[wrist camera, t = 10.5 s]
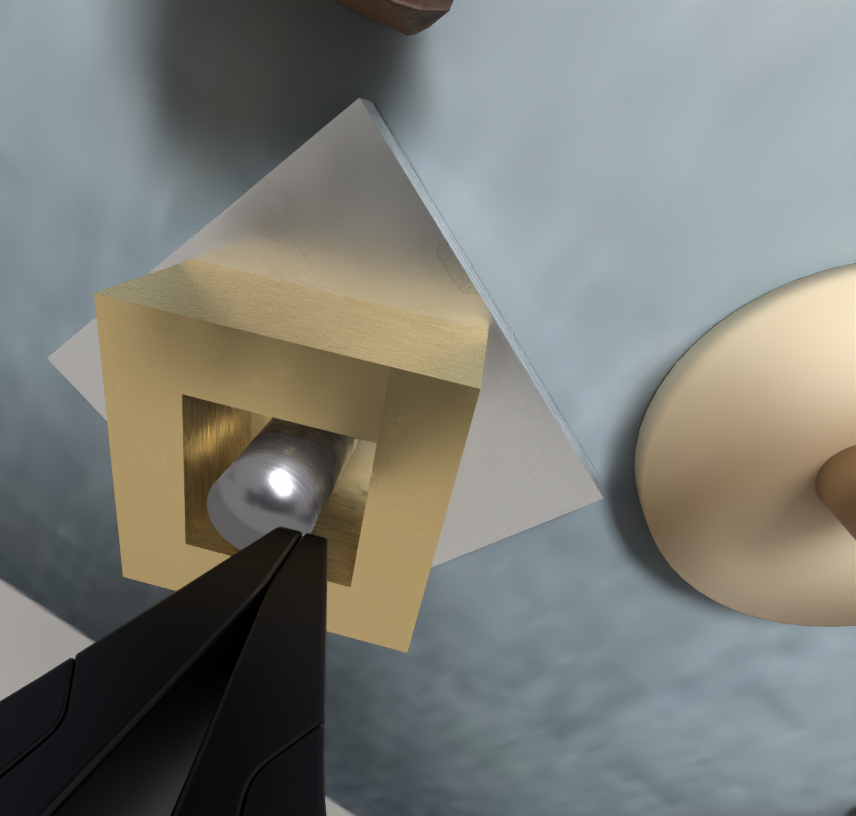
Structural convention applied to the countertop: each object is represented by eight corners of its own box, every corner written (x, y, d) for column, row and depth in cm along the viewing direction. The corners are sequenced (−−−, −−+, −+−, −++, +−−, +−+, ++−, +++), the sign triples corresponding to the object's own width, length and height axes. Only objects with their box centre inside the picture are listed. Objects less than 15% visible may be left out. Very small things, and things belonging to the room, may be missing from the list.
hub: (598, 475, 13) (633, 613, 9) (307, 596, 17) (245, 735, 13) (372, 101, 10) (285, 74, 6) (76, 344, 14) (-98, 424, 10)
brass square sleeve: (427, 557, 14) (407, 652, 12) (194, 497, 14) (123, 576, 12) (488, 330, 11) (480, 388, 8) (192, 258, 11) (93, 293, 9)
